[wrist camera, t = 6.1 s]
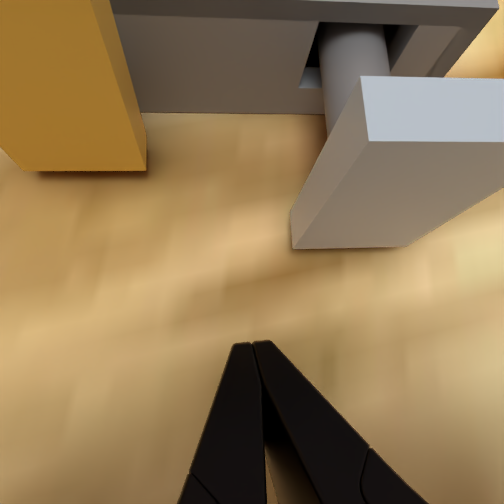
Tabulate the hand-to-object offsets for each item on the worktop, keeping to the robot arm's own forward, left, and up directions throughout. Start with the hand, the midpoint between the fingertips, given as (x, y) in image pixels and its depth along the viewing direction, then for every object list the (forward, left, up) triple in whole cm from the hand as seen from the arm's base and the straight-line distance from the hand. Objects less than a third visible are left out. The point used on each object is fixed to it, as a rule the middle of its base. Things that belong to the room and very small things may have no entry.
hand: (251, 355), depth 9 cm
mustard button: (+13, +1, -6) cm, 14 cm away
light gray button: (+7, -7, -6) cm, 11 cm away
